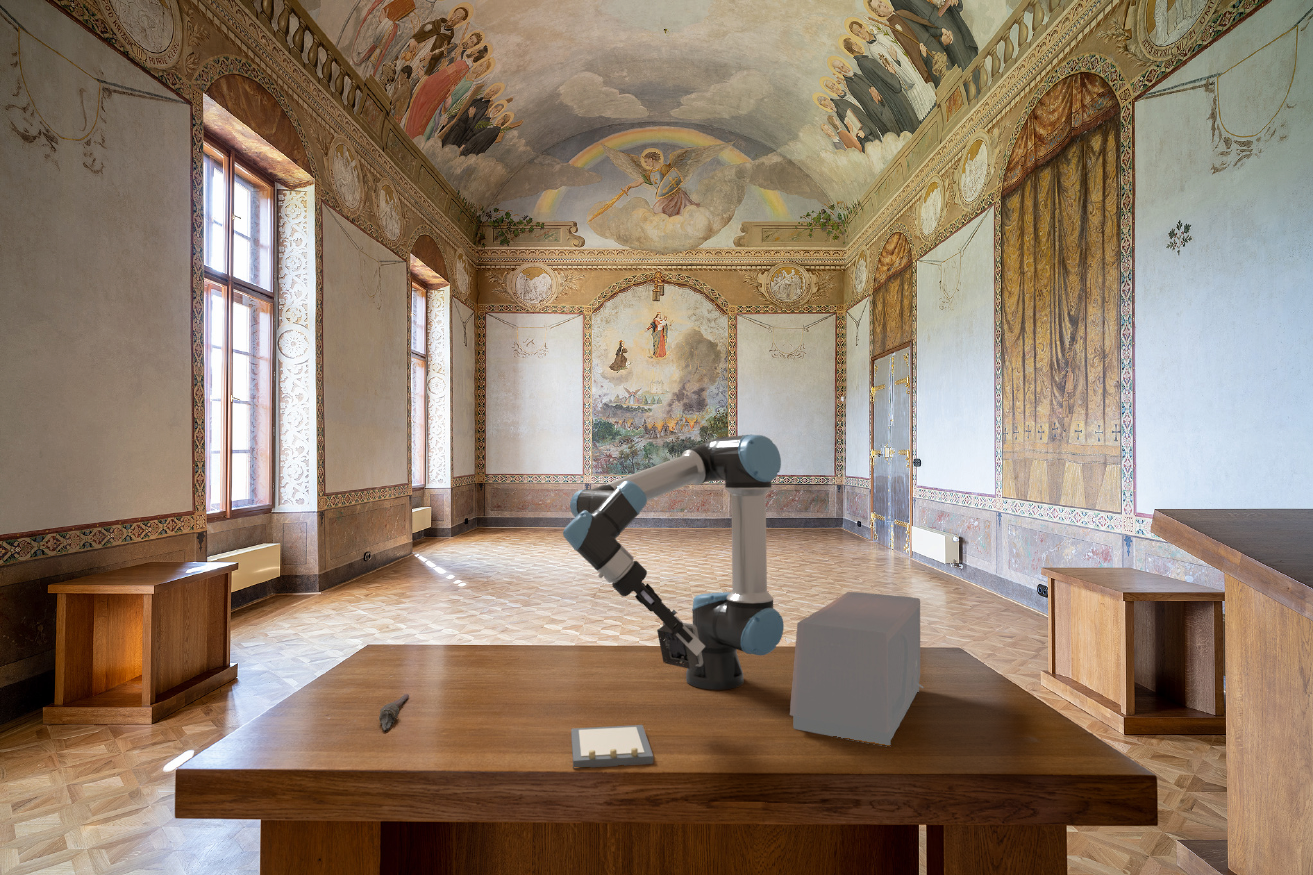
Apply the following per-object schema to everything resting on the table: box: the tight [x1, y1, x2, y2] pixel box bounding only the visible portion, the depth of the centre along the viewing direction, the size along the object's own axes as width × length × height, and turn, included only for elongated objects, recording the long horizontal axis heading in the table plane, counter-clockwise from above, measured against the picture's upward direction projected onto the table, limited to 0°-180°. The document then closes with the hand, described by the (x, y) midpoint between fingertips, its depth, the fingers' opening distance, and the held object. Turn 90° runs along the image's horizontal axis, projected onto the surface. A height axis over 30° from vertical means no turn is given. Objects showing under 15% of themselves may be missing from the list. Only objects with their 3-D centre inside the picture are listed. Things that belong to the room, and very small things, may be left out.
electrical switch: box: [656, 621, 703, 669], centre depth 144 cm, size 9×5×9 cm, turn 46°
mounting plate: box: [570, 724, 654, 769], centre depth 133 cm, size 15×16×3 cm
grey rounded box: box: [789, 591, 925, 745], centre depth 156 cm, size 45×22×24 cm, turn 149°
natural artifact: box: [378, 693, 410, 732], centre depth 152 cm, size 4×23×4 cm, turn 2°
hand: (696, 645), depth 144 cm, fingers closed on electrical switch, 8 cm apart
